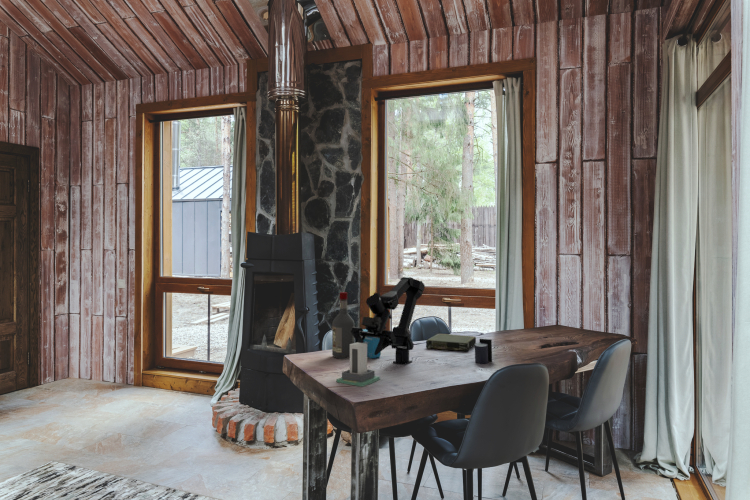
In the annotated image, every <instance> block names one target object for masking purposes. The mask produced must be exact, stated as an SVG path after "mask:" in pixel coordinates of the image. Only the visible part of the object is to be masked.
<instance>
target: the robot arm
mask: <svg viewBox="0 0 750 500" xmlns="http://www.w3.org/2000/svg"><path fill="white" fill-rule="evenodd" d="M425 287H426V286H425V283H424V282H423V281H422V280H419V279H415V278H414V277H411V276H402V277H401V278H400V279H399V281H398V282H397V284H396V285H394V286H393V288H392V289H391V290H390V291H388V292H386V293H385V292H384V293H383V294H382V295H380V293H379V292H374V293H373V295H370V296H368V298H367V299H366V301H365V304H366V306H368V308H369V310H370V311H371V313H372V314H374V316H373V317H370V316H363V317H362V320H361V325H362V326H364V327H365V328H364V329H366V330H368V331H367V332H366V331H363V328H362V327H358V326H356V327H353V328H352V330H351V333H352V335H353V336H354V338H355V343H356V342H358V343H363V342H364V341H363V340H364V339H365V337H373V338H380V340H379V343H378V345H377V348H376V350H375V353H374V354H375V355H377V354H378V353H379V352H382V351H383V350H385V349H387V348H388V347H389V346H391V349H395V353H394V355H395V356H394V357H395V360H393V361H392V363H393V364H397V365H398V364H399V365H408V364H410V363H412V362H413V360H410V351H412V350H414V344H415V343H414V342H413V340H412V338H411V337H412V335H411V331H410V327H411V322H412V318H413V316H414V313H415V312H414V311H415V309H416V303H417V302H418V301H417V300H418V299H420V298H421V297H422V295H423V293H424V291H425ZM404 294H405V295H406V298H405V300H404V304H403V307H402V308H403V310H402V312H401V315H400V318H399V319H400V320H399V322H398V324H397V326H393V328H392V330H387V326H386V325H387V323H388V321H389V320H391V319H392V318H393V317H392V314H391V312H390V311H389V310H393V311H394V310H395V309H397V307H398V305H399V299H401V297H402V296H403V295H404Z"/></svg>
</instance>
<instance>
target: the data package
mask: <svg viewBox="0 0 750 500" xmlns="http://www.w3.org/2000/svg"><path fill="white" fill-rule="evenodd" d="M362 330H363V331H366V332H367V331H368V330H366V329H365V328H362ZM379 340H380V338H373V337H365V339H364V340H363V341H364V342H363V343H366V344H367V358H368V357H369V358H368V359H375V358H376V359H377V358H380V357H381V354H382V353H381V352H382V351H381V352H379V353H378V354H377V355H375V354H374V353H375V350H376V348H377V345H378V343H379Z"/></svg>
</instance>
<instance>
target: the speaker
mask: <svg viewBox="0 0 750 500" xmlns="http://www.w3.org/2000/svg"><path fill="white" fill-rule="evenodd" d="M492 341H493V340H492V339H491V338H479V341H478V342H476V343H475V344H474V346H473V347H474V362H475V363H476V364H480V365H486V364H488V363H490V362H491V363H492V362H493V345H492Z"/></svg>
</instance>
